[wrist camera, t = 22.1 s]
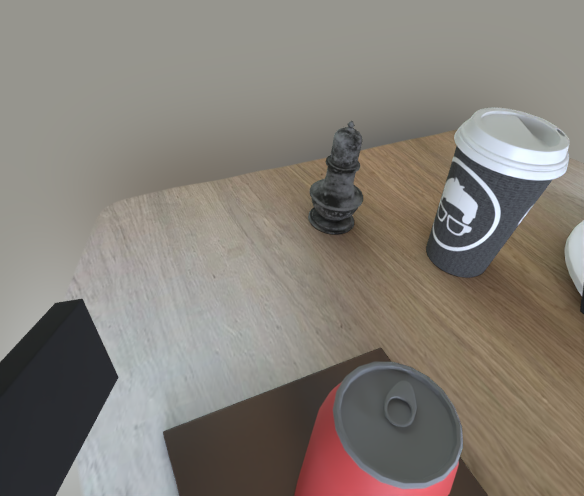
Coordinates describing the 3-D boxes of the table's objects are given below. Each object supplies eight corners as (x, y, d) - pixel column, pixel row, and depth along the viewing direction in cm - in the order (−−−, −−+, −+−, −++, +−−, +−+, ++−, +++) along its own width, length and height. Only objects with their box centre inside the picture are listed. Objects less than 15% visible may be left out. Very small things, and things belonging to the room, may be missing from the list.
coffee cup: (498, 302, 42) (585, 170, 31) (403, 267, 44) (456, 134, 34) (503, 245, 48) (576, 122, 38) (421, 217, 50) (469, 94, 40)
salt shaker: (347, 202, 51) (369, 107, 43) (363, 234, 47) (391, 135, 39) (300, 205, 50) (314, 107, 42) (313, 237, 46) (331, 136, 38)
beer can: (408, 481, 28) (483, 385, 20) (384, 599, 23) (467, 536, 15) (315, 436, 29) (348, 331, 21) (274, 538, 25) (297, 453, 17)
